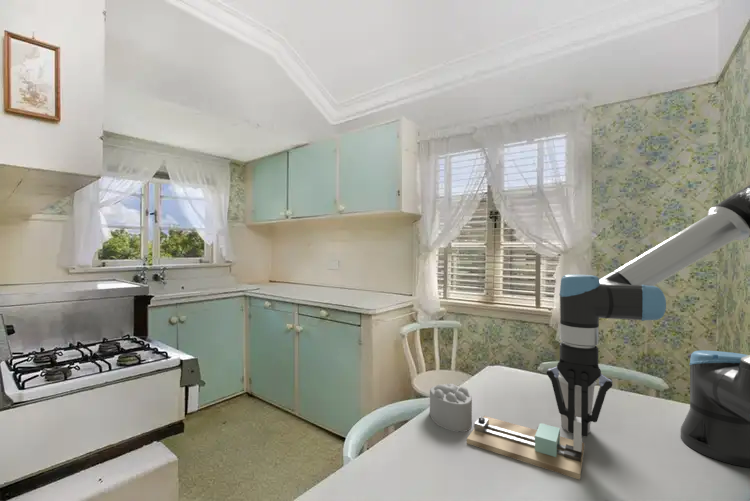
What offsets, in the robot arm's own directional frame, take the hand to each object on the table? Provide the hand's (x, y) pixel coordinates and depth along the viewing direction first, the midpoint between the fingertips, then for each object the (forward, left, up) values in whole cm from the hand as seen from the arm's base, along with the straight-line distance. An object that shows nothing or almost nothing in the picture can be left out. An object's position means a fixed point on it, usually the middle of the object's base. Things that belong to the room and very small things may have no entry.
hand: (577, 448), depth 78 cm
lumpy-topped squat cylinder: (+31, -2, -3) cm, 31 cm away
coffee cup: (+2, -16, -3) cm, 17 cm away
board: (+11, 0, -3) cm, 12 cm away
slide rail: (+11, 0, -2) cm, 11 cm away
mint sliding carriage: (+6, 0, -2) cm, 6 cm away
